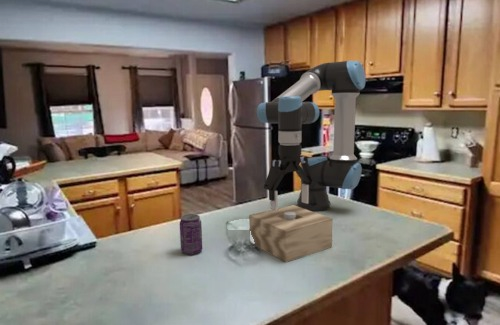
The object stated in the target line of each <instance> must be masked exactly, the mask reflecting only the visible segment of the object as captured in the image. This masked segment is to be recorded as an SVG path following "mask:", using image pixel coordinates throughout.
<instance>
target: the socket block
mask: <svg viewBox="0 0 500 325" xmlns="http://www.w3.org/2000/svg"><path fill="white" fill-rule="evenodd" d="M285 212H295V213H296V218H295V220H291V221H287V220H285V219H284V213H285ZM333 219H334V218H332V217H330V216H327V215H323V214H320V213H317V212H316V211H309V210H306V209H303V208H300V207H298V206H297V205H294V204H291V205H287V206H282V207H278V211H275V210H272V209H269V210H265V211H261V212H257V213H252V214H249V219H248V220H249V222H248V223H249V232H250V231H251V235H252V237H253V239H254V242H255V245H254V246H256V247H258V248H259V249H260V250H261V249H262V250H263V251H264V252H267V253H269V255H272V256H274V257H276V258H277V259H279V260H281V261H282V262H285V263H288V262H291V261H294V260H297V259H300V258H304V257H306V256H310V255H312V254H315V253H317V252H321V251H324V250H327V249H330V248H333Z"/></svg>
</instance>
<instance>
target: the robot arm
mask: <svg viewBox="0 0 500 325" xmlns="http://www.w3.org/2000/svg"><path fill="white" fill-rule="evenodd" d="M366 79H367V78H366V72H365V68H364V66H363V64H362V62H360V61H358V60H345V61H344V60H343V61H335V62H334V61H333V62H324V63H321V64H318V65H316V66H314V67H312V68H310V69H308V70H307V71H306V72H304V73H302V75H301V76H300V78H299V80H297V81H296V82H295V83H294V84H293V85H291V86H290V87H289V88H287V89H286V90H285V91H283V92H282V93H281V94H280V95H278V96H277V97H276V98H274V99H273V100H272V101H270V102H268V101H266V102H261V103H260V104H258V106H257V109H256V115H257V119H258V120H259V122H261V123H263V124H265V123H266V124H278V136H277V137H278V140H277V141H278V143H279V145H278V155H279V159H278V160H276V159H272V160H271V161H270V162H271V165H270V170H269V171H268V174H267V176H266V180H265V182H264V185H263V189H264V190H267V191H268V199H269V201H270V210H275V211H278V208H279V207H278V204H279V203H278V197H279V196H278V190H277V188H278V187H279V185H280V183H281V181H282V179H283V178H284V177H285V175H287V174H289V173H292V172H295V173H296V174H297V176H298V177H299V178H300V192H299V196H298V199H297V202H296V206H298V207H300V208H303V209H306V210H309V211H312V212H321V211H327V210H329V209H330V208H331V202H330V200H329V194H328V192H327V188H336V189H342V190H353V189H355V188H356V187H357V186H358V185H359V182H360V180H361V176H362V171H363V168H362V165H361V163H359V162H358V157H356V155H355V154H354V152H355V130H356V129H355V128H356V126H355V125H356V108H357V107H356V102H357V97H358V96H360V94H361V93H360V92H361V90H363V89H364V88H365V86H366ZM320 91H321V92H322V91H331V95H332V96H333V98H334V117H333V118H334V119H333V151H332V152H333V153H332V155H331V156H329V160H328V157H327V156H314V157H308V156H303V155H302V145H301V143H302V125H307V124H308V125H310V124H312V123H315V122H316V121H317V120H318V119H319V117H320V108H319V106H318V104H316V103H315V102H312V101H305V100H306V99H307V98H308V97H310V95H314V94H316V93H317V92H320Z"/></svg>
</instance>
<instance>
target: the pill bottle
mask: <svg viewBox="0 0 500 325" xmlns="http://www.w3.org/2000/svg"><path fill="white" fill-rule="evenodd" d="M295 218H296V213H295V212H285V213H284V219H285V220H287V221H291V220H295Z"/></svg>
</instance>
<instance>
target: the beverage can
mask: <svg viewBox="0 0 500 325" xmlns="http://www.w3.org/2000/svg"><path fill="white" fill-rule="evenodd" d="M202 229H203V228H202V220H201V217H200V215H198V214H197V213H196V214H193V213H191V214H185V215H182V216H180V221H179V238H180V240H179V241H180V252H181V253H183V254H185V255H190V256H191V255H195V254H199V252H202V251H203V232H202V231H203V230H202Z"/></svg>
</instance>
